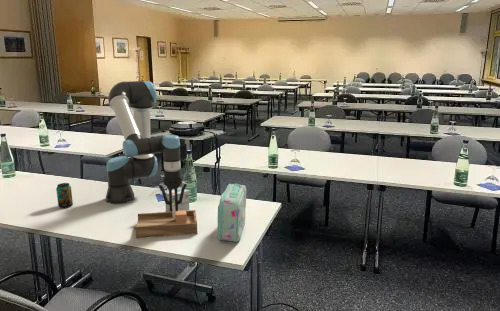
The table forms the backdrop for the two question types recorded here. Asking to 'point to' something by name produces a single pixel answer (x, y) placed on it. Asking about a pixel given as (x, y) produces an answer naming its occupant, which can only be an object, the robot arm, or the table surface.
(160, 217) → the box
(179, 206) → the light bulb box
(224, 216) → the lunch box
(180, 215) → the block
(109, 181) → the robot arm
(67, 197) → the beverage can
